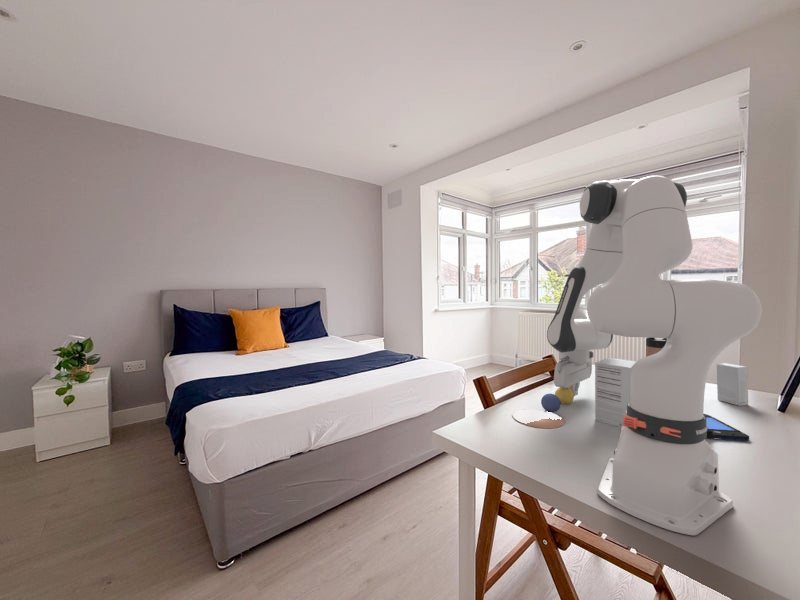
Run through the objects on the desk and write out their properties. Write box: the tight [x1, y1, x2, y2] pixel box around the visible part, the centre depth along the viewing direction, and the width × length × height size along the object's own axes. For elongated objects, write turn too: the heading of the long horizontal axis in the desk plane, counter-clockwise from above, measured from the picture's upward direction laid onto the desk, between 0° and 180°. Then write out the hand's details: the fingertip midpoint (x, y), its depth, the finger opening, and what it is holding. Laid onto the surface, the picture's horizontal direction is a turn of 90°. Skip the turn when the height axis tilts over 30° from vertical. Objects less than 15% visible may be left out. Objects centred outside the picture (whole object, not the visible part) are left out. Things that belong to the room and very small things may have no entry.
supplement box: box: [594, 357, 637, 428], centre depth 93 cm, size 10×9×17 cm
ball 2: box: [554, 387, 575, 405], centre depth 107 cm, size 6×6×6 cm
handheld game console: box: [703, 413, 750, 442], centre depth 88 cm, size 16×13×9 cm
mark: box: [525, 418, 565, 429], centre depth 96 cm, size 14×14×1 cm
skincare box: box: [716, 362, 749, 407], centre depth 106 cm, size 6×4×12 cm
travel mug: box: [645, 337, 667, 357], centre depth 111 cm, size 8×8×20 cm
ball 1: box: [540, 393, 562, 413], centre depth 101 cm, size 6×6×6 cm
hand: (573, 395), depth 110 cm, fingers closed
